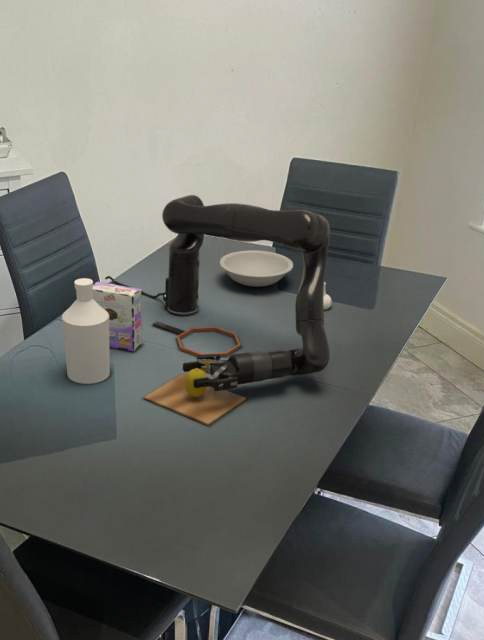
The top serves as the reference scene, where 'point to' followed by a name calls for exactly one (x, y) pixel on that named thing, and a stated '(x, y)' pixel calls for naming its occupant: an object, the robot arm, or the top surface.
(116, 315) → the candy box
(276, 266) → the soup bowl
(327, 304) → the garlic bulb
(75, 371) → the bottle
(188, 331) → the magnifying glass
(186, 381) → the lemon
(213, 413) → the wooden cutting board
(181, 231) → the robot arm
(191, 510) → the top surface
